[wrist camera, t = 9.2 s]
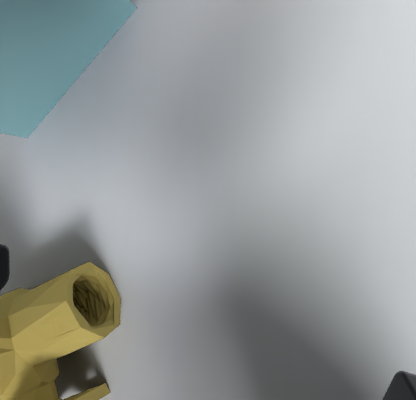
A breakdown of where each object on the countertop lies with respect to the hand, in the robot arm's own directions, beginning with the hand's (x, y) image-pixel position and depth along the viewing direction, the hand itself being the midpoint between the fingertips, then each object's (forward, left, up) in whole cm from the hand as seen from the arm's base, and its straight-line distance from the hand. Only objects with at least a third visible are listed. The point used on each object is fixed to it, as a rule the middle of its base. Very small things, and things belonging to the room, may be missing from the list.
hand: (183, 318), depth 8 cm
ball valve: (-14, +10, -12) cm, 21 cm away
